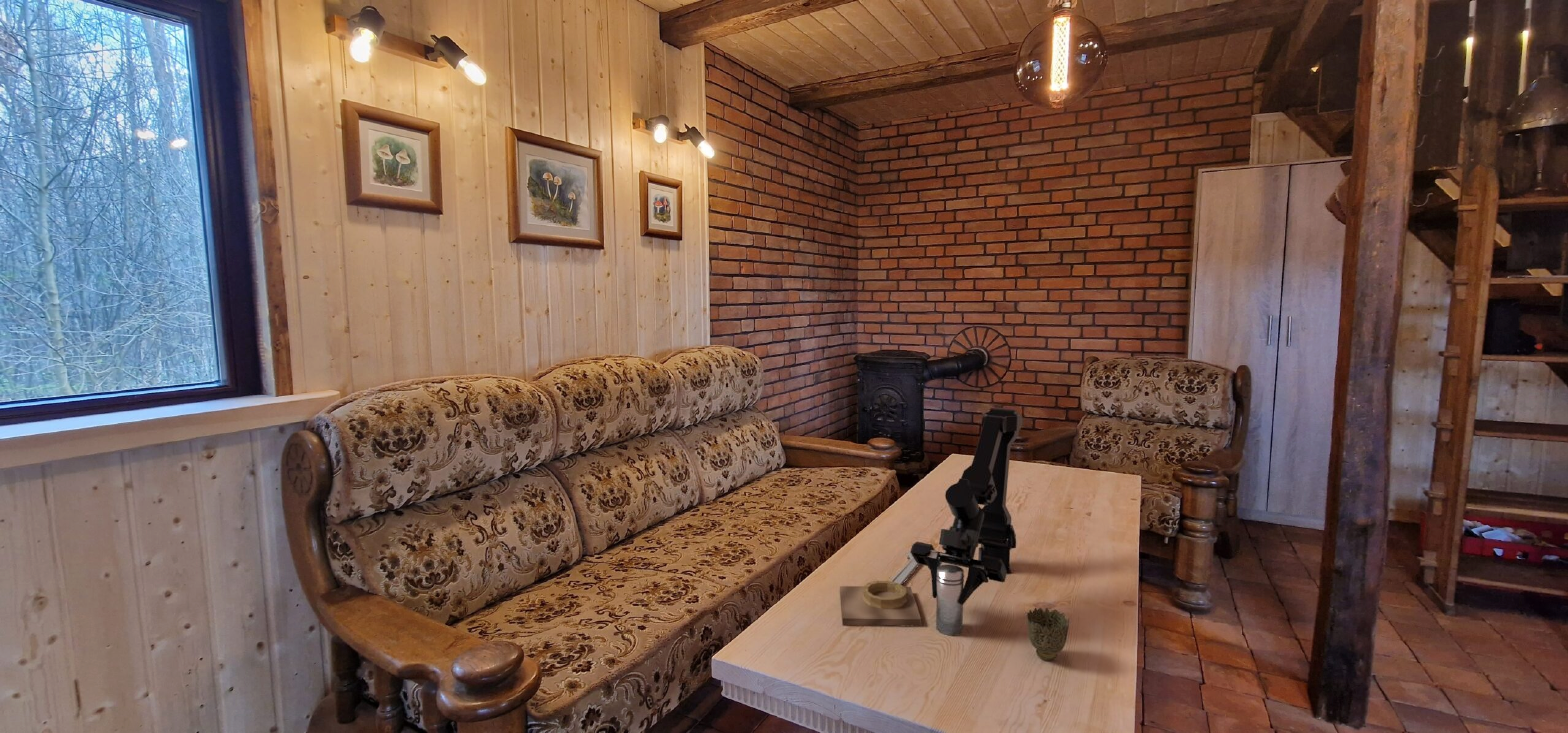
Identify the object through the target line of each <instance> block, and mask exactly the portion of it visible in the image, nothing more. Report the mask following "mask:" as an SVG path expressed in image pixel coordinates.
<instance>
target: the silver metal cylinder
mask: <svg viewBox="0 0 1568 733" xmlns="http://www.w3.org/2000/svg"><path fill="white" fill-rule="evenodd" d="M964 572H965V571H964V568H962V566H957V565H953V564H941V566H939V567H938V568H937V577H936V579H937V596H936V608H935V610H936V611H935V612H936V614H935V616H936V617H935V628H936V630H938V631H939V632H938V631H937V632H938V633H940V634H941V635H945V636H953V637H954V635H955V636H959V635H961V634H962V633H963V623H964V622H963V619H964V614H963V613H964V604H963V605H961V604H960V599H961V594H962V591H963V588H964V582H965V579H964V578H965V574H964ZM960 633H961V634H960ZM958 634H959V635H958Z"/></svg>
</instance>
